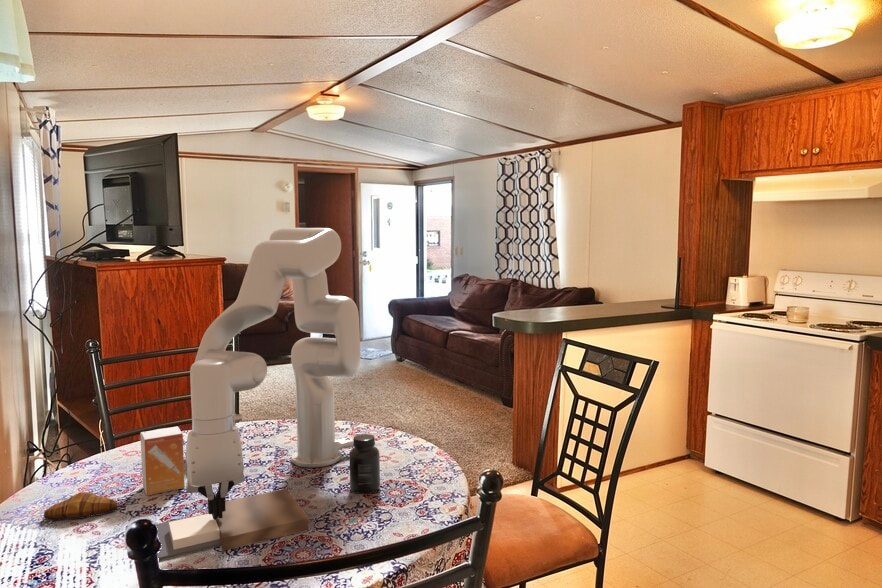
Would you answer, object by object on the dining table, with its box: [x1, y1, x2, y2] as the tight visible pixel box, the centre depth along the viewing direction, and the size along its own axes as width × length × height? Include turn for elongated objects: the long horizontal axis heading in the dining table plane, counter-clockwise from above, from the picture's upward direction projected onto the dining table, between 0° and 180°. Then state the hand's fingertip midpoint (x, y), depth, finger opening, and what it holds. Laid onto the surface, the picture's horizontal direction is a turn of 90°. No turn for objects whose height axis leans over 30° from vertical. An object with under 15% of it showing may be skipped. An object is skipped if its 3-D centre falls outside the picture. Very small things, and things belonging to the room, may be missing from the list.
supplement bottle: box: [348, 433, 381, 495], centre depth 138 cm, size 7×7×12 cm
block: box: [168, 513, 220, 550], centre depth 115 cm, size 8×8×2 cm
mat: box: [155, 513, 222, 562], centre depth 116 cm, size 12×14×1 cm
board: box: [215, 488, 310, 552], centre depth 122 cm, size 16×16×2 cm
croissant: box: [43, 491, 119, 521], centre depth 125 cm, size 14×7×5 cm, turn 107°
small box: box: [139, 426, 186, 497], centre depth 138 cm, size 8×6×13 cm
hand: (217, 515), depth 118 cm, fingers closed
